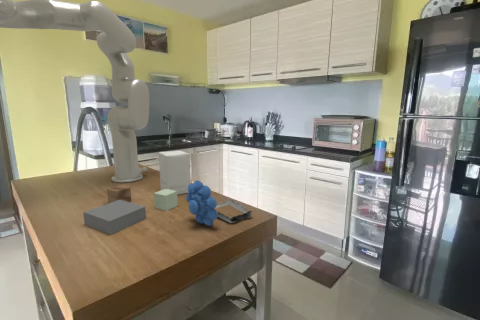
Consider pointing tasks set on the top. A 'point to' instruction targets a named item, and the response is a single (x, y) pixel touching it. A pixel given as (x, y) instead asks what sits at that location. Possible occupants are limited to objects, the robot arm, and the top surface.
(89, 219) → the base block
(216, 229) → the top surface
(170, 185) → the supplement box
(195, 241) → the top surface
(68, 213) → the top surface
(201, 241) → the top surface
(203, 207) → the grapes
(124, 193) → the walnut cube
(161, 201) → the sage cube
